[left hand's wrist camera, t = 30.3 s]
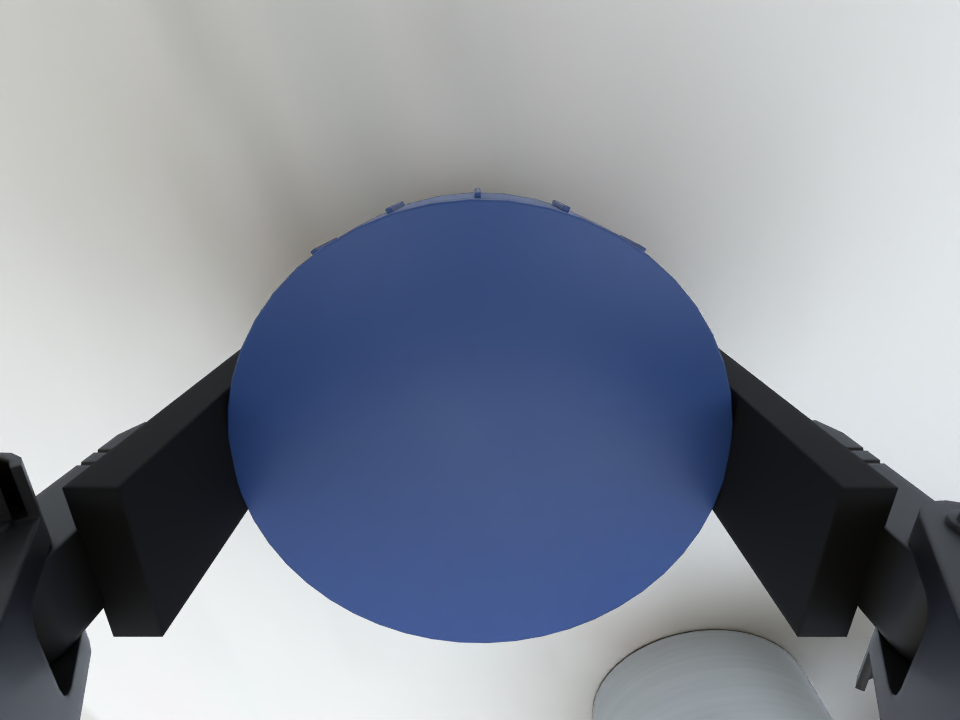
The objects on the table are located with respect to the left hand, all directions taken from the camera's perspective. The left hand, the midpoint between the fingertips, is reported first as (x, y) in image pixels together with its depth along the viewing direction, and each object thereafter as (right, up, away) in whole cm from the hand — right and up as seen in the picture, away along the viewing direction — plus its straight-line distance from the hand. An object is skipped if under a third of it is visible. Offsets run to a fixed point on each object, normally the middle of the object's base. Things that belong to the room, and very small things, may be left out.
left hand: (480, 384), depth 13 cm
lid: (0, -1, -3) cm, 3 cm away
